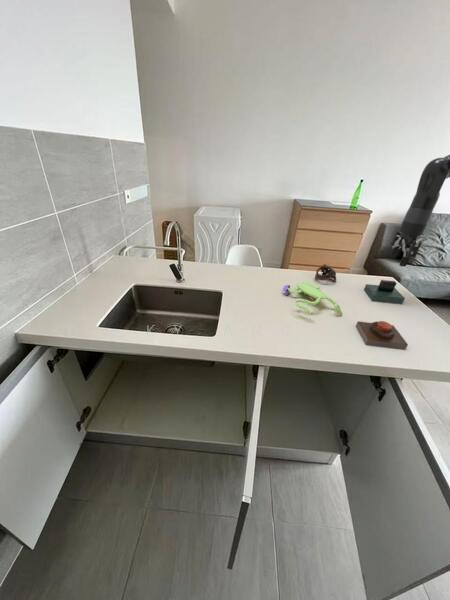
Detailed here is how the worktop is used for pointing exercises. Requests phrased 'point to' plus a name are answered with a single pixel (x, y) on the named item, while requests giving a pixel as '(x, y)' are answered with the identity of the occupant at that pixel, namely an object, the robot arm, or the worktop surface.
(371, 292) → the panel
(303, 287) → the figurine
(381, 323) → the button
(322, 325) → the worktop surface
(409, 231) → the robot arm
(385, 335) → the button block
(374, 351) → the worktop surface
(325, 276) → the dark brown dome
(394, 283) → the handle
